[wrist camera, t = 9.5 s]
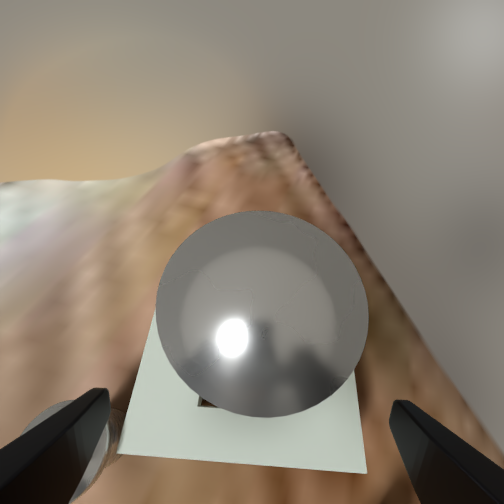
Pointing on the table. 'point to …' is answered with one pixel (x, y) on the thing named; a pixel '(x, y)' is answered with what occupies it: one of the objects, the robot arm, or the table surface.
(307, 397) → the long pin
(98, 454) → the short stub
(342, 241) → the table surface
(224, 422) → the square washer plate
